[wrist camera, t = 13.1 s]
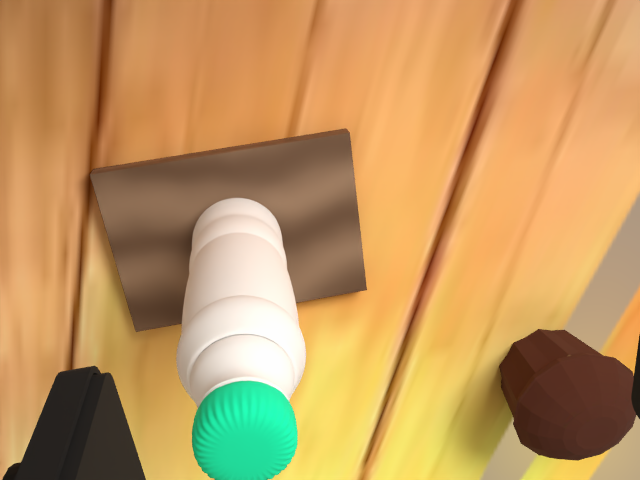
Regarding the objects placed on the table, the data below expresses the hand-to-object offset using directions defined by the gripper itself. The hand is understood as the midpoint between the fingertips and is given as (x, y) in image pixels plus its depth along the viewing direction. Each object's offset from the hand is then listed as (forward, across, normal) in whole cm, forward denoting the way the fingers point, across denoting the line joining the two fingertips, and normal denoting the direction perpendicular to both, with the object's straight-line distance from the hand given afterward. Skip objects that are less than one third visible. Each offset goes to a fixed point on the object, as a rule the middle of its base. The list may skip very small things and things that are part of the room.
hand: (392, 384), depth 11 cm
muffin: (+38, -23, +33) cm, 56 cm away
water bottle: (+37, +4, +13) cm, 40 cm away
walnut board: (+39, +4, +13) cm, 41 cm away
